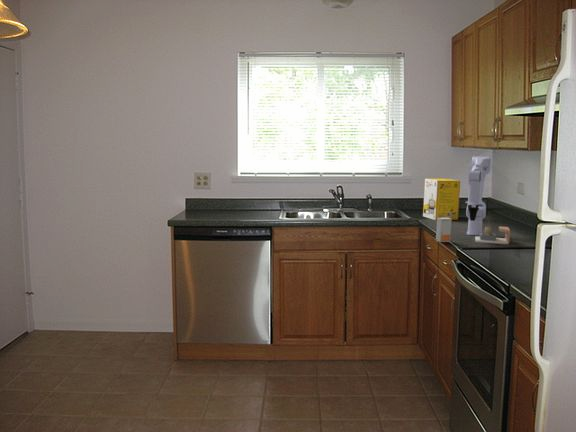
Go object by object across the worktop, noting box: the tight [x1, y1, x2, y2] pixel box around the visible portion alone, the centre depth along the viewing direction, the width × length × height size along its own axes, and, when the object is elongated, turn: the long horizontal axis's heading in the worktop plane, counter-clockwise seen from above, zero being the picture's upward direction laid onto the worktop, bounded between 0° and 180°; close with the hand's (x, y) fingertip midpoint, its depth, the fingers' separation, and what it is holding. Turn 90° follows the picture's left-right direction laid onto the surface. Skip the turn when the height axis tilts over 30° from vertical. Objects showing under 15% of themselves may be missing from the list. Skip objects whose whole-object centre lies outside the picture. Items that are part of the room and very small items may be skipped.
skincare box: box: [435, 218, 452, 243], centre depth 306 cm, size 6×4×12 cm
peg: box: [484, 226, 492, 235], centre depth 311 cm, size 3×3×6 cm
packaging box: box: [422, 178, 461, 221], centre depth 392 cm, size 16×16×25 cm
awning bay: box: [474, 226, 511, 245], centre depth 311 cm, size 12×16×7 cm
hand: (472, 219), depth 317 cm, fingers open, 7 cm apart
